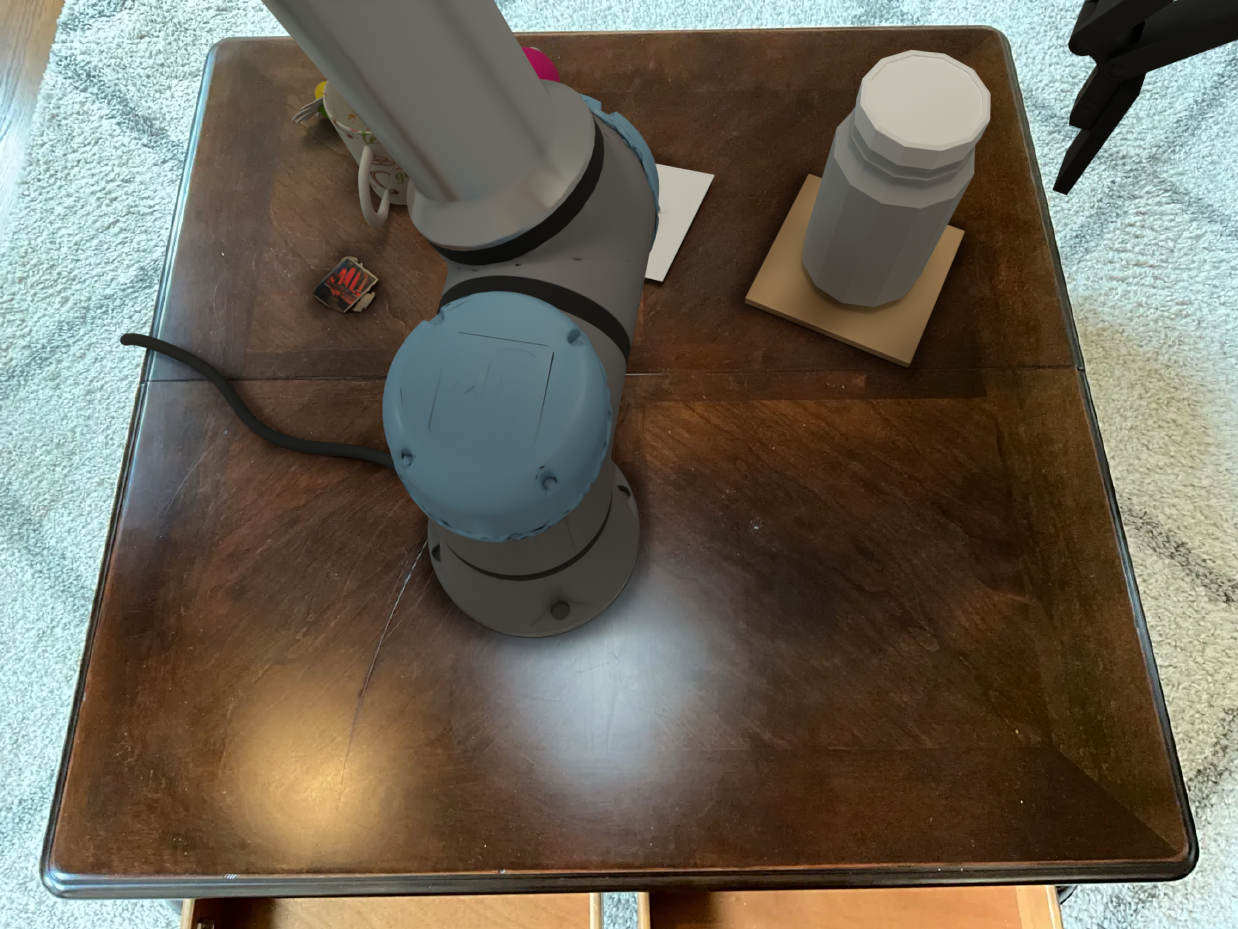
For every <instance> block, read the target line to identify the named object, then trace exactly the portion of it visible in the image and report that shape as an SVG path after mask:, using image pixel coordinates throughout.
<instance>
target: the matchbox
mask: <svg viewBox="0 0 1238 929" xmlns="http://www.w3.org/2000/svg"><path fill="white" fill-rule="evenodd" d="M377 281H379V278H377V275H374V274H373V273H371V272H370V271H369V269H366V268H365V267H364V266H363V262H360V263H359V262H358V258H357V257H354V256H352V255H347V254H346V256H344V257H343V258H341V260H340V261H339V262H338V264H335V265H334V267H333V268H332V269H331V270H330V272H329V273H327V275H326V276H323V277H322V278H321V279H320V281H319V283H318V285H317V286H316V288H315V290H314V292H313V293H312V295H313V296H314V297H315V298H316V299H317V300H318V301H320V302H322V303H321V305H322V306H324V305H325V306H327V307H328V308H331V309H333V310H336V311H339V312H340V313H346V312H347V311H348V310H349V309H350V310H351V311H354V312H362V311H363V309H364V310H366V309H367V307H369V304H371V302H372V300H373V299H374V297H375V295H376V293H375V291H371V294H370V293H367V292H370V290H371V288H372V287H373V286H374V285H376V283H377ZM355 303H356V304H355ZM323 304H324V305H323ZM354 305H355V306H354ZM353 306H354V307H353ZM352 307H353V308H352Z"/></svg>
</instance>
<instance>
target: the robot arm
mask: <svg viewBox="0 0 1238 929" xmlns="http://www.w3.org/2000/svg"><path fill="white" fill-rule="evenodd" d="M260 1H261V3H262V4H263V5H264V6H265V7H266V9H267V10H268V11H269V12H270V13H271V14H272V16H273V17H274V18H275V19H276V20H277V22H278V23H279V24H280V25H281V27H283V29H284V30H285V32H287V33H288V35H289V36H290V37H291V38H292V40H293V41H294V42H295V43H296V45H298V47H299V48H300V49H301V50H302V52H303V53H304V54H305V55H306V56H307V58H308V59H309V60H310V61H311V62H312V63H313V65H314V66H315V68H317V69H318V70H319V72H320V73H321V74H322V75H323V76H324V78H325V79H326V81H327V80H328V81H329V82H330V83H331V85H332V86H333V87H334V88H335V89H336V91H337V92H338V93H339V94H340V95H341V97H342V98H343V99H344V100H345V101H346V103H347V104H348V105H349V106H350V107H351V109H352V110H353V111H354V112H355V113H356V114H357V116H358V117H359V118H360V119H361V120H362V122H363V123H364V124H365V125H366V126H367V128H368V129H369V130H370V131H371V132H372V134H373V135H374V136H375V137H376V138H377V139H378V141H379V142H380V143H381V144H382V145H383V147H384V148H385V149H386V150H387V151H388V153H389V154H390V155H391V156H392V157H393V159H394V160H395V161H396V162H397V163H398V165H399V166H400V167H401V168H402V169H403V170H404V172H405V173H406V174H407V175H408V176H409V178H410V179H409V182H408V188H407V205H406V206H407V212H408V215H409V218H410V220H411V222H412V224H413V225H414V227H415V229H416V230H417V231H418V232H419V234H421V236H423V239H425V240H426V241H427V242H428V244H429V245H430V246H431V247H432V248H433V250H435V251H436V253H437V254H438V255H439V256H440V257H441V259H443V261H444V262H445V264H446V267H447V275H446V279H445V282H444V287H443V290H442V293H441V297H440V300H439V303H438V307H437V310H436V314H435V316H434V317H433V318H431V319H430V320H427V319H423V320H422V321H420V322H419V323H418V325H416V326H415V327H414V328H413V329H412V331H410V333H409V334H408V336H406V338H405V339H404V341H403V342H402V344H401V346H400V347H399V349H398V350H397V352H396V353H395V355H394V357H393V360H392V362H391V364H390V366H389V369H388V372H387V375H386V379H385V383H384V390H383V394H382V424H383V425H382V426H383V430H384V435H385V440H386V443H387V446H388V448H389V451H390V453H388V452H386V451H383V450H380V449H377V448H373V447H369V446H364V445H359V444H353V443H342V442H331V441H317V440H311V439H304V438H300V437H299V438H298V437H295V436H292V435H288V434H285V433H282V432H280V431H278V430H276V429H274V428H272V427H271V426H269V425H267V424H265V423H264V422H263V421H261V420H260V419H259V418H258V417H257V416H256V415H254V413H253V412H252V411H251V409H250V408H249V407H248V405H246V403H245V402H244V400H243V398H241V397H240V395H239V393H238V392H237V390H236V389H235V388H234V387H233V385H232V384H231V383H230V382H229V380H227V378H226V377H225V376H224V375H223V374H222V372H220V371H219V370H218V369H217V368H215V367H214V365H211V364H210V363H208V362H207V361H206V360H204V359H202V358H201V357H199V356H197V355H195V354H194V353H192V352H189V350H186V349H183V348H181V347H180V346H177V345H175V344H173V343H170V342H168V341H166V340H162V339H159V338H156V337H154V336H150V335H146V334H143V333H137V332H127V333H124V334H122V335H121V336H120V339H119V343H120V344H121V345H122V346H125V347H128V346H129V347H130V346H134V347H140V348H143V349H146V350H149V351H150V350H151V351H154V352H156V353H159V354H162V355H164V356H166V357H169V358H170V359H174V360H175V361H178V362H180V363H182V364H184V365H185V366H188V367H189V368H191V369H193V370H195V371H197V372H198V373H200V374H201V375H202V376H204V377H205V378H206V379H207V380H209V382H211V383H212V384H213V386H215V387H216V389H218V391H219V392H220V394H221V395H222V397H223V398H224V399H225V401H226V402H227V403H228V405H229V407H230V408H231V409H232V411H233V412H234V413H235V415H236V416H237V417H238V418H239V419H240V420H241V422H242V423H243V424H244V425H245V426H246V427H247V428H248V429H249V430H251V432H253V433H254V434H256V435H257V436H258V437H259V438H261V439H263V440H265V441H267V442H268V443H271V444H273V445H274V446H278V447H281V448H283V449H286V450H291V451H294V452H298V453H304V454H310V455H319V456H321V455H322V456H331V457H333V456H334V457H344V458H352V459H358V460H363V461H367V462H370V463H371V462H372V463H374V464H378V465H380V466H383V467H386V468H388V469H391V470H393V471H394V472H396V473H397V476H398V478H399V480H400V481H401V483H402V485H403V487H404V489H405V490H406V492H407V494H408V495H409V497H410V498H411V500H413V502H414V503H415V504H416V505H417V506H418V507H419V509H421V511H422V512H423V513H424V515H425V516H426V517H427V518H428V519H427V520H428V521H427V544H428V545H427V546H428V552H429V557H430V562H431V565H432V567H433V568H432V569H433V571H434V573H435V575H436V577H437V579H438V582H439V583H440V585H441V587H442V589H443V590H444V591H445V593H446V594H447V595H448V597H449V598H450V600H452V602H453V603H454V604H455V605H456V606H457V607H458V608H459V610H461V611H462V612H463V613H464V614H465V615H466V616H468V617H469V618H471V619H472V620H473V621H475V622H476V623H478V624H480V625H482V626H483V627H486V628H487V629H491V630H492V631H495V632H498V633H501V634H503V635H508V636H514V637H521V638H541V637H549V636H555V635H559V634H562V633H566V632H569V631H571V630H574V629H576V628H579V627H581V626H583V625H585V624H587V623H588V622H590V621H592V620H593V619H594V618H596V617H597V616H599V615H600V614H602V612H604V611H605V610H606V609H607V608H608V607H609V606H610V605H611V604H612V603H613V602H614V601H615V600H616V599H617V597H618V596H619V595H620V593H621V592H622V590H623V589H624V587H625V586H626V585H627V582H628V581H629V579H630V577H631V574H632V572H633V570H634V567H635V563H636V560H637V558H638V553H639V546H640V529H641V528H640V526H641V525H640V515H639V510H638V505H637V501H636V499H635V495H634V493H633V491H632V488H631V486H630V483H629V482H628V480H627V478H626V476H625V475H624V473H623V472H622V470H621V469H620V467H619V466H618V465H617V464H616V463H615V461H614V460H613V459H612V455H613V454H612V453H613V445H614V439H615V434H616V428H617V423H618V417H619V413H620V407H621V402H622V397H623V392H624V386H625V381H626V377H627V369H628V364H629V359H630V355H631V352H632V347H633V340H634V336H635V330H636V325H637V320H638V315H639V311H640V305H641V301H642V300H641V299H642V295H643V290H644V285H645V279H646V277H645V275H646V269H647V264H648V259H649V254H650V252H651V250H652V247H653V244H654V241H655V238H656V235H657V230H658V224H659V217H658V212H659V201H658V200H659V177H658V171H657V167H656V164H657V163H656V160H655V158H654V156H653V153H652V150H651V149H650V147H649V145H648V144H647V142H646V140H645V138H644V137H643V136H642V135H641V133H640V132H639V131H638V130H637V128H635V125H633V124H632V123H631V122H630V121H629V120H628V119H627V118H626V117H625V116H623V115H622V114H621V113H619V111H614V112H611V113H610V114H609V113H607V112H605V111H603V110H602V102H601V101H599V100H597V99H596V98H593V97H591V96H589V95H586V94H583V93H579V92H577V91H576V90H574V88H572V87H570V86H569V85H566V84H565V83H562V82H560V83H559V82H555V81H550V80H544V79H539V77H538V76H537V74H536V72H535V70H534V69H533V67H532V65H531V63H530V62H529V60H528V58H527V57H526V55H525V53H524V51H523V50H522V48H521V47H522V46H521V45H520V43H519V41H518V39H517V37H516V36H515V33H514V32H513V30H512V29H511V27H510V25H509V23H508V21H507V20H506V18H505V17H504V15H503V13H502V11H501V10H500V8H499V6H498V5H497V3H496V1H495V0H260ZM1236 41H1238V0H1084V1H1083V4H1082V6H1081V8H1080V10H1079V13H1078V16H1077V18H1076V21H1075V22H1074V26H1073V29H1072V31H1071V35H1070V37H1069V39H1068V43H1067V48H1068V50H1069V52H1070V54H1073V55H1074V56H1077V57H1089V58H1091V59H1092V60H1093V61H1094V63H1095V66H1094V67H1093V69H1092V71H1091V72H1090V74H1089V75H1088V77H1087V79H1086V80H1085V81H1084V83H1083V85H1082V86H1081V87H1080V90H1079V91H1078V93H1077V94H1076V96H1075V99H1074V103H1073V105H1072V108H1071V110H1070V113H1069V119H1068V126H1071V127H1074V128H1077V129H1079V132H1078V133H1077V135H1076V136H1075V138H1074V139H1073V141H1072V142H1071V144H1070V145H1069V147H1068V148H1067V150H1066V151H1065V154H1064V155H1063V159H1062V161H1061V165H1060V168H1059V170H1058V172H1057V176H1056V178H1055V181H1054V184H1053V186H1052V189H1051V191H1053V192H1056V193H1058V194H1060V195H1064V196H1068V195H1069V194H1070V193H1071V191H1072V189H1073V188H1074V186H1075V185H1076V183H1077V182H1078V181H1079V180H1080V178H1081V177H1082V175H1083V174H1084V173H1085V171H1086V170H1087V169H1088V167H1089V165H1090V164H1091V163H1092V162H1093V160H1094V159H1095V157H1096V156H1097V155H1098V154H1099V152H1100V151H1101V149H1102V147H1103V146H1104V145H1105V143H1106V142H1107V141H1108V139H1109V138H1110V136H1111V135H1112V134H1113V132H1114V131H1115V130H1116V128H1117V127H1118V125H1119V124H1120V123H1121V121H1122V120H1123V118H1124V117H1125V116H1126V114H1127V113H1128V111H1129V110H1130V109H1131V107H1132V106H1133V105H1134V104H1135V102H1136V101H1137V99H1138V98H1139V96H1140V94H1141V91H1142V88H1143V85H1144V82H1145V80H1146V76H1147V74H1148V73H1150V72H1152V71H1153V72H1154V71H1157V70H1158V69H1162V68H1164V67H1166V66H1169V65H1172V64H1175V63H1178V62H1180V61H1183V60H1186V59H1189V58H1191V57H1194V56H1197V55H1200V54H1203V53H1205V52H1209V51H1211V50H1214V49H1217V48H1220V47H1222V46H1225V45H1227V44H1231V43H1233V42H1236Z"/></svg>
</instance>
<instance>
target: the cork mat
mask: <svg viewBox="0 0 1238 929" xmlns="http://www.w3.org/2000/svg"><path fill="white" fill-rule="evenodd" d="M821 180H822V177H820V176H817V175H814V174H811V173H808V174H807V176H806V178H805V180H804V182H803V184H802V186H801V188H800V190H799V192H798V194H797V195H796V198H795V199H794V202H793V203H792V206H791V207H790V210H789V211H788V214H787V216H786V217H785V218H784V221H783V223H782V225H781V227H780V229H779V231H778V233H777V235H776V237H775V239H774V241H773V243H772V244H771V247H770V249H769V251H768V253H767V255H766V257H765V258H764V261H763V263H762V265H761V266H760V268H759V270H758V273H757V274H756V276H755V279H754V280H753V282H752V284H751V286H750V288H749V290H748V292H747V294H746V295H745V299H744V304H747V305H748V306H751V307H754V308H756V309H758V310H762V311H764V312H767V313H768V314H772V315H773V316H777V317H779V318H781V319H784V320H787V321H789V322H791V323H794V324H797V325H799V326H801V327H803V328H806V329H809V330H810V331H814V332H816V333H819V334H821V335H824V336H826V337H828V338H831V339H833V340H835V341H839V342H841V343H844V344H846V345H848V346H851V347H854V348H856V349H858V350H860V351H863V352H866V353H869V354H871V355H873V356H875V357H878V358H881V359H882V360H883V359H884V360H886V361H888V362H891V363H893V364H896V365H898V366H900V367H903V368H906V369H908V368H909V366H910V365H911V363H912V361H913V358H914V356H915V353H916V351H917V348H918V346H919V343H920V340H921V339H922V337H923V334H924V331H925V329H926V327H927V324H928V321H929V319H930V318H931V315H932V312H933V310H934V308H935V305H936V302H937V301H938V298H939V295H940V294H941V293H940V292H941V291H942V288H943V286H944V283H945V281H946V279H947V276H948V273H949V272H950V268H951V267H952V263H953V262H954V260H955V258H956V254H957V252H958V249H959V247H960V245H961V241H962V240H963V238H964V235H965V233H966V231H965V230H963V229H960V228H957V227H955V226H952V225H949V224H947V226H946V228H945V230H944V232H943V234H942V236H941V238H940V240H939V241H938V243H937V245H936V247H935V249H934V251H933V253H932V255H931V257H930V259H929V260H928V262H927V264H926V266H925V268H924V270H923V272H922V274H921V276H920V277H919V278H918V280H917V281H916V282H915V283H914V284H913V286H912V287H911V288H910V289H909V290H908V292H907V293H906V294H905V295H904V297H903V298H900V299H897V300H894V301H891V302H888V303H885V304H882V305H879V306H876V307H869V306H862V305H855V304H847V303H841V302H840V301H838V300H837V299H835V298H834V297H832V296H831V295H829V294H828V293H826V292H825V291H823V290H821V289H820V288H818V287H817V286H815V284H814V282H813V280H812V278H811V276H810V274H809V273H808V271H807V269H806V267H805V265H804V263H803V261H802V259H803V250H804V240H805V234H806V230H807V227H808V224H809V220H810V217H811V214H812V210H813V207H814V203H815V200H816V197H817V193H818V190H819V186H820V183H821Z"/></svg>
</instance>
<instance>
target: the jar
mask: <svg viewBox="0 0 1238 929" xmlns="http://www.w3.org/2000/svg"><path fill="white" fill-rule="evenodd" d="M990 121H991V92H990V91H989V89H988V88H987V86H986V85H985V84H984V82H983V81H982V80H981V78H980V77H979V75H978V74H977V72H976V70H975V69H974V68H972V67H970V66H968V65H966V64H964V63H963V62H961V61H959V60H957V59H955V58H953V57H951V56H950V55H947V53H940V52H932V51H923V50H915V49H910V50H905V51H903V52H900V53H896V54H893V55H890V56H886V57H883V58H881V59H880V60H878V62H877V63H876V64H874V66H873V67H872V68H871V69H870V70H869V71H868V72H867V73H866V74H865V75H864V77H862V79H861V83H860V86H859V88H858V92H857V96H856V100H855V106H854V108H852V111H851V112H850V113H849V114H848V115H847V116H846V117H845V119H844V120H842V122H840V124H839V125H838V126H837V127H836V130H835V133H834V136H833V140H832V143H831V146H830V150H829V153H828V157H827V160H826V163H825V166H824V169H823V173H822V177H821V178H822V180H821V183H820V186H819V190H818V193H817V197H816V200H815V203H814V207H813V210H812V214H811V217H810V220H809V224H808V227H807V230H806V234H805V240H804V250H803V259H802V261H803V263H804V265H805V267H806V269H807V271H808V273H809V274H810V276H811V278H812V280H813V282H814V284H815V286H817V287H818V288H820V289H821V290H823V291H825V292H826V293H828V294H829V295H831V296H832V297H834V298H835V299H837V300H838V301H840V302H841V303H847V304H855V305H862V306H869V307H876V306H879V305H882V304H885V303H888V302H891V301H894V300H897V299H900V298H903V297H904V295H905V294H906V293H907V292H908V290H909V289H910V288H911V287H912V286H913V284H914V283H915V282H916V281H917V280H918V278H919V277H920V276H921V274H922V272H923V270H924V268H925V266H926V264H927V262H928V260H929V259H930V257H931V255H932V253H933V251H934V249H935V247H936V245H937V243H938V241H939V240H940V238H941V236H942V234H943V232H944V230H945V228H946V226H947V225H949V222H950V220H951V218H952V217H953V215H954V213H955V211H956V210H957V207H958V206H959V204H960V201H961V200H962V198H963V196H964V194H965V192H966V190H967V188H968V187H969V185H970V183H971V181H972V179H973V177H974V176H975V159H976V158H975V156H976V155H975V154H976V152H975V151H976V145H977V144H978V142H979V141H980V140H981V138H982V136H983V134H984V133H985V131H986V129H987V127H988V125H989V123H990Z"/></svg>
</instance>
